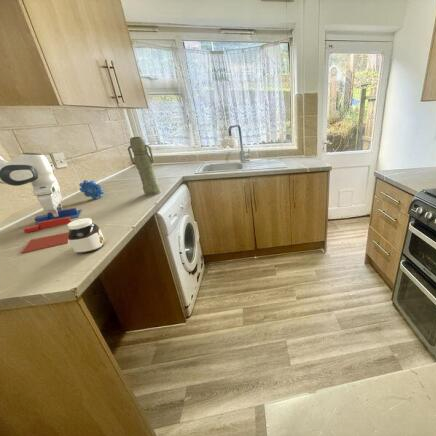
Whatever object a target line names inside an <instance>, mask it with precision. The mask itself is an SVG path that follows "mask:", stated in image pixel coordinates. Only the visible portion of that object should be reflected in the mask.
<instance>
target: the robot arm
mask: <svg viewBox="0 0 436 436" xmlns="http://www.w3.org/2000/svg"><path fill="white" fill-rule="evenodd" d="M53 171H54V170H53V167H52V166H51V163H50V162H49V160H48V158H47V157H46V156H45V155H44V154H42V153H38V152H22V153H20V154H19V155H18V156H17V157H15V158H14V159H12V160H10V161H8V160H6V159H4V158H3V157H2V156H1V155H0V184H2V185H9V186H12V187H13V186H14V187H18V186H24V185H27V184H29V183H30V184H31V186H32V193H33V196H34V197H36V198H37V201H38V203H39V205H40V206H41V207H42V209H43V210H44V211H45V212H51V213H52V214H53V216H54V217H58V216H59V213H58V212H57V211H59V210H64V209H63V206H62V201H63V200H64V198H63V195H62V192H61V186H60V184H59V181H58V180H57V177H56V176H55V175H54V172H53Z"/></svg>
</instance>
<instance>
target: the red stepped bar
mask: <svg viewBox="0 0 436 436" xmlns="http://www.w3.org/2000/svg"><path fill="white" fill-rule="evenodd" d="M37 222H38V221H37ZM70 222H72V219H70V217H65V218H60V219H54V220H48V221H43V222H38V225H35V224H33V225H28V226H25V227H24V228H23V232H24V233H25V234H27V233H31V232H37V231H40V230H44V229H49V228H55V227H59V226H63V225H65V226H66V225H68V224H69V223H70Z"/></svg>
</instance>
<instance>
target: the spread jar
mask: <svg viewBox="0 0 436 436" xmlns="http://www.w3.org/2000/svg"><path fill="white" fill-rule="evenodd" d="M66 226H67V227H68V229H69V230H68V232H69V233H68V243H67V244H68V246H69V247H71V248H72V250H73V252H74V253H76V254H79V255H86V254H91V253H94V252H97V251H99V250H101V249H102V248H103V247H104V245H105V237H104V235H103V232H102V230H101V228H100V226H99V225H97V224H96V223H94V222H93V221H92V219H91V218H90V217H84V218H79V219H78V218H77V219H75V220H73V221H72V220H71V222H70V223H69V224H66Z"/></svg>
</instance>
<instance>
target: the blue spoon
mask: <svg viewBox="0 0 436 436" xmlns="http://www.w3.org/2000/svg"><path fill="white" fill-rule="evenodd" d="M77 210H78V209H77V207H72V208H65V209H63V210H59V211H57V212H58V213H59V216H58V217H62V216H68V215H74V214H78V212H77ZM49 218H50V219H51V218H56V217H54V216H53V214H52V213H51V212H50V211H47V213H46V214H42V215H36V216H35V218H34V222H35V223H37V222H38V221H43V220H48V219H49Z"/></svg>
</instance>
